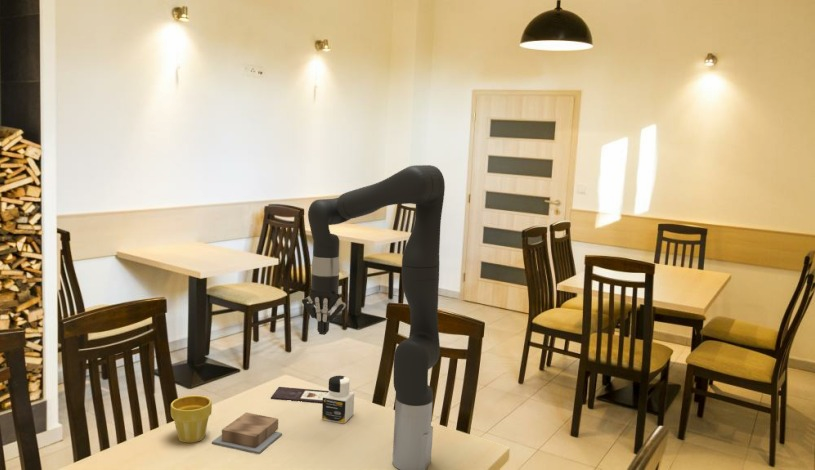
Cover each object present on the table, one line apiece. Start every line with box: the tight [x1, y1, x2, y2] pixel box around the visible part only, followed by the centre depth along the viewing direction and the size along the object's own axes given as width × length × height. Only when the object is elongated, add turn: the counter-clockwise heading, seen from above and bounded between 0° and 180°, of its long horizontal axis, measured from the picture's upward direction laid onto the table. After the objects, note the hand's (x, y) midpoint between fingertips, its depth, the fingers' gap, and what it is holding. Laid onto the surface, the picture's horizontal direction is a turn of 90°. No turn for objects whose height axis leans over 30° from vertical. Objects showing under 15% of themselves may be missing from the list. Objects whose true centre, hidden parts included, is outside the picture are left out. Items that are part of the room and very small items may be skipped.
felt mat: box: [211, 431, 283, 455], centre depth 179 cm, size 14×12×1 cm
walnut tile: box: [221, 412, 279, 448], centre depth 180 cm, size 10×3×12 cm
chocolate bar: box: [270, 386, 329, 405], centre depth 210 cm, size 9×1×18 cm
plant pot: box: [170, 394, 213, 444], centre depth 178 cm, size 10×10×10 cm
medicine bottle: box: [321, 375, 355, 424], centre depth 195 cm, size 7×7×12 cm
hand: (323, 333), depth 185 cm, fingers closed
